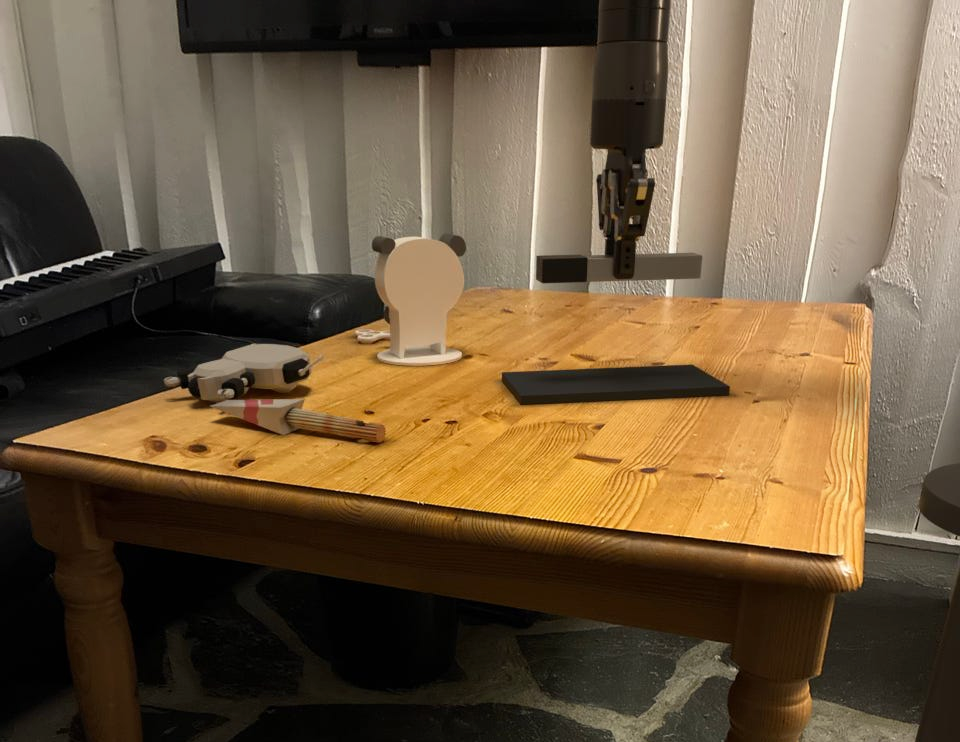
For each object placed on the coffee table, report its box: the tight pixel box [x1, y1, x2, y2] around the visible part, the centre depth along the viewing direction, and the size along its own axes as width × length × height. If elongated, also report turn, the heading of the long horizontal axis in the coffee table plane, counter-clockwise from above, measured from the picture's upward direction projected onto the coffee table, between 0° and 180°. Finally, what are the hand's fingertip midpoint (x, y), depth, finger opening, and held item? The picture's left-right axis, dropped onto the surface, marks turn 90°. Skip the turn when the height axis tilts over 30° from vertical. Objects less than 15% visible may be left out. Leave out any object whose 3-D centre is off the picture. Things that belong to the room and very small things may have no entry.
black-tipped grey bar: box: [535, 252, 704, 284], centre depth 103 cm, size 18×3×2 cm, turn 99°
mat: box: [501, 364, 731, 406], centre depth 109 cm, size 24×12×1 cm, turn 99°
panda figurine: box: [371, 233, 467, 367], centre depth 122 cm, size 12×11×15 cm
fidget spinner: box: [354, 329, 390, 343], centre depth 137 cm, size 7×6×1 cm
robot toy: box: [163, 343, 325, 404], centre depth 106 cm, size 12×4×15 cm
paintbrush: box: [209, 398, 387, 444], centre depth 93 cm, size 4×3×20 cm
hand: (618, 275), depth 104 cm, fingers closed on black-tipped grey bar, 3 cm apart
